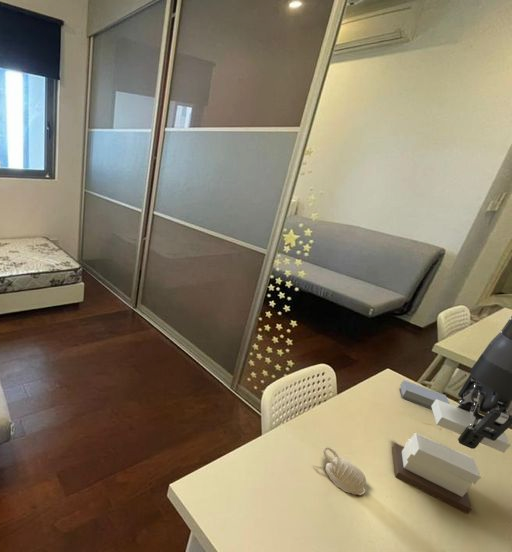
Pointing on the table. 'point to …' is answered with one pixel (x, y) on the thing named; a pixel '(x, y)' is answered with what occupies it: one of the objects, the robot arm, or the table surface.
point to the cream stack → (436, 470)
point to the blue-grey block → (420, 394)
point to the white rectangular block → (463, 423)
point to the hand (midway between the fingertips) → (461, 432)
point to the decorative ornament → (345, 474)
